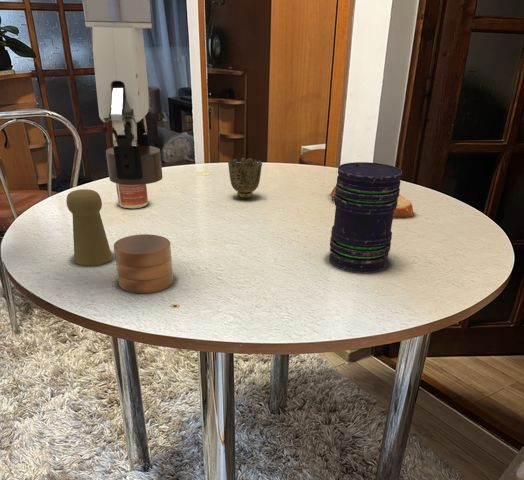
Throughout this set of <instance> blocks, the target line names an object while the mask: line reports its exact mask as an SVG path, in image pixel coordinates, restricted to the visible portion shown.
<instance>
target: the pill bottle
mask: <svg viewBox="0 0 524 480" xmlns="http://www.w3.org/2000/svg"><path fill="white" fill-rule="evenodd" d="M115 187H116V194H117V202H118V206H120V207H121V208H124V209H140V208H143V207H146V206H148V204H149V197H148V187H147V184H143V185H124V184H117V183H115Z"/></svg>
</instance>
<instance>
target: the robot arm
mask: <svg viewBox="0 0 524 480" xmlns="http://www.w3.org/2000/svg"><path fill="white" fill-rule="evenodd" d="M81 3H82V8H83V16H84V23H85V27H86V28H91V31H92V32H91V33H92V34H91V35H92V56H93V66H94V67H93V68H94V78H95V87H96V98H97V109H98V117H99V119H100V120H101V121H102V122H103V123H108V122H110V121H111V125H112V126H111V127H112V129H111V133H112V145H113V147H112V148H113V149H114V156H115V164H116V172H117V177H118V179H130V180H140V179H142V178H143V169H142V160H141V150H140V146H137V145H145V146H150V136H149V134H148V124H147V120H146V116H147V114H149V112H150V111H149V110H150V97H149V83H148V82H149V81H148V71H147V59H146V51H145V50H146V49H145V41H144V40H145V39H144V33H143V32H144V31H143V29H152V28H153V24H152V14H151V2H150V0H81Z"/></svg>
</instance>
